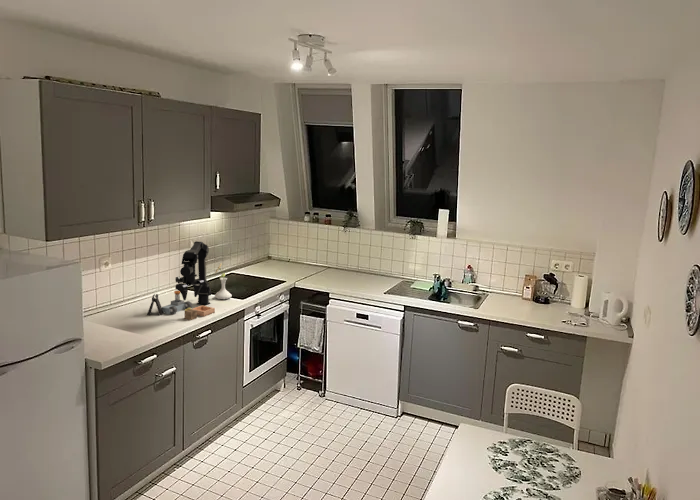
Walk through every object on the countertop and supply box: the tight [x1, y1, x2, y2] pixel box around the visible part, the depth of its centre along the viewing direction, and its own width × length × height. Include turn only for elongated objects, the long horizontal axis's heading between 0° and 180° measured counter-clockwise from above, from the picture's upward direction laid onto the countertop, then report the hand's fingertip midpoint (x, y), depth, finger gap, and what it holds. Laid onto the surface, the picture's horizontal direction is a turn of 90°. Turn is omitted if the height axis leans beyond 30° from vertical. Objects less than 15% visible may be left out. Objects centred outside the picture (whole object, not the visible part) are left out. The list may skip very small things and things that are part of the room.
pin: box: [173, 290, 181, 302], centre depth 339 cm, size 4×4×8 cm
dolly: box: [161, 299, 193, 315], centre depth 338 cm, size 16×9×6 cm, turn 155°
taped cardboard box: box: [184, 307, 198, 321], centre depth 324 cm, size 5×5×6 cm
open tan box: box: [192, 305, 216, 318], centre depth 335 cm, size 10×10×3 cm
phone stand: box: [146, 293, 164, 316], centre depth 329 cm, size 9×6×12 cm, turn 102°
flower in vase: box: [214, 262, 232, 300], centre depth 368 cm, size 13×11×25 cm
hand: (190, 298), depth 322 cm, fingers open, 9 cm apart
